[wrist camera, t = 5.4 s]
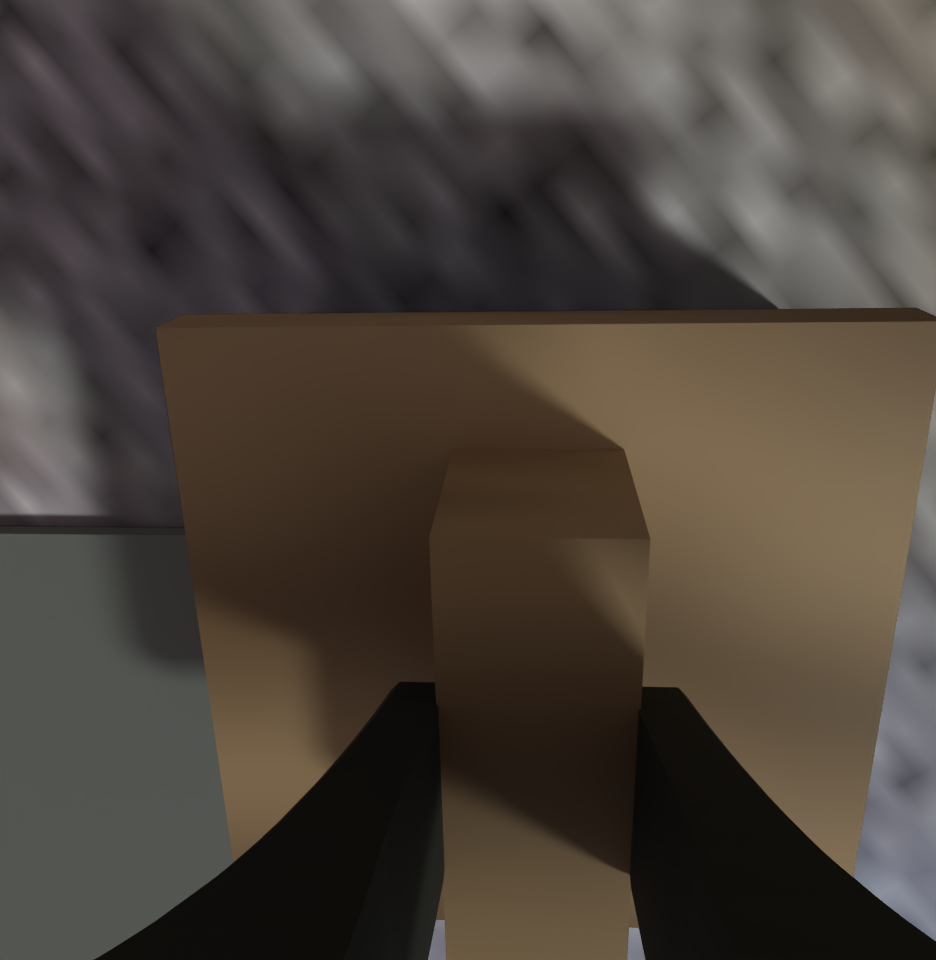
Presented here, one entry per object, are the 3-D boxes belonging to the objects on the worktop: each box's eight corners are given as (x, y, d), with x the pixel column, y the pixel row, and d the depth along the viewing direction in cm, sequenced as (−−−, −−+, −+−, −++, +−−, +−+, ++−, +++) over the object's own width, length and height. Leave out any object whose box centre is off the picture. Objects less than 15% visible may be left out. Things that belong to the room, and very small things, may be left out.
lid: (825, 889, 16) (912, 1115, 12) (256, 869, 17) (178, 1075, 13) (915, 307, 12) (1079, 379, 9) (181, 314, 13) (43, 382, 9)
